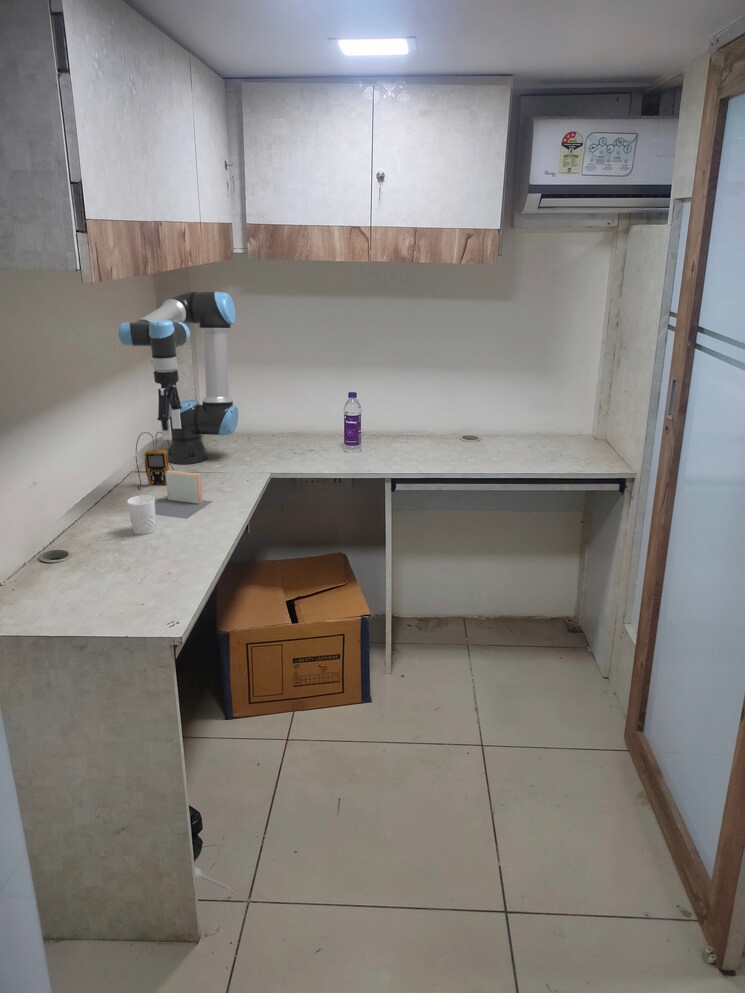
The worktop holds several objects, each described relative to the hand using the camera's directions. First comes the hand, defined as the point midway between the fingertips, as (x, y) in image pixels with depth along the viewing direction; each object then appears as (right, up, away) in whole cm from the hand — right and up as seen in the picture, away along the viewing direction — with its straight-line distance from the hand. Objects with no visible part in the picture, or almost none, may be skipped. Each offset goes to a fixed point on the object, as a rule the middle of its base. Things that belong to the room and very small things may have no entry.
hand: (172, 433), depth 237 cm
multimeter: (-10, -19, +16) cm, 27 cm away
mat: (+2, -25, -1) cm, 25 cm away
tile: (+3, -22, +3) cm, 23 cm away
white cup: (-3, -31, -18) cm, 37 cm away
